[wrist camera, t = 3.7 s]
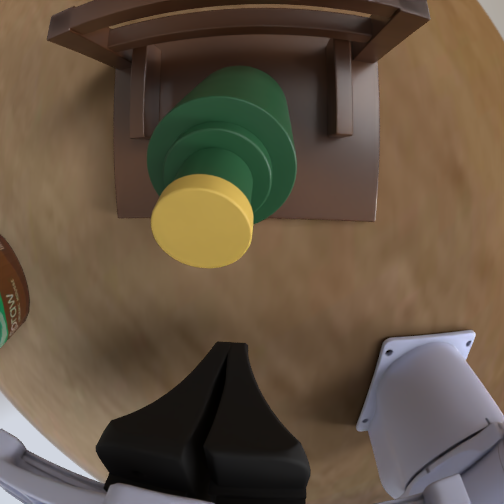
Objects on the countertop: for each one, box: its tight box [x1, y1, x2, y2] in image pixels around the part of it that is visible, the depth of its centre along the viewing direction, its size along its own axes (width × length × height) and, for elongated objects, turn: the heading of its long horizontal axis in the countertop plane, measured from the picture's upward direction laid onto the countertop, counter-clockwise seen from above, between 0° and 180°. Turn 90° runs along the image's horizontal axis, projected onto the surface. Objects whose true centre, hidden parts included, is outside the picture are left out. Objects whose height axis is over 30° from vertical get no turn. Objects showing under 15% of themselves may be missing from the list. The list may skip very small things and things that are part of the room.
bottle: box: [147, 66, 297, 268], centre depth 9 cm, size 4×4×9 cm
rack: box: [47, 0, 430, 222], centre depth 11 cm, size 11×14×7 cm
